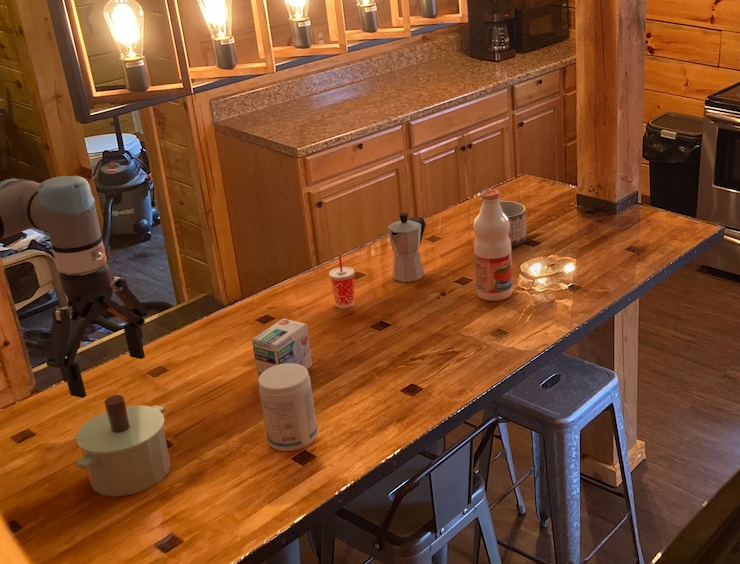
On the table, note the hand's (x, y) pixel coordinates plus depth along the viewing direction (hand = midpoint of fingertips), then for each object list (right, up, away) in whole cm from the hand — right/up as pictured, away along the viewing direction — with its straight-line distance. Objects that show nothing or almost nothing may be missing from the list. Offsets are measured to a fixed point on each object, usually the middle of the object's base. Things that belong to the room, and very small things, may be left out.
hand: (109, 375), depth 169 cm
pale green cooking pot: (0, -19, +9) cm, 21 cm away
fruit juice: (+60, +10, +77) cm, 98 cm away
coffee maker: (+36, +15, +87) cm, 96 cm away
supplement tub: (+27, -15, +19) cm, 36 cm away
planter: (+59, +24, +107) cm, 125 cm away
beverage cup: (+23, +8, +71) cm, 75 cm away
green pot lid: (0, -11, +5) cm, 12 cm away
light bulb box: (+18, -5, +41) cm, 45 cm away
